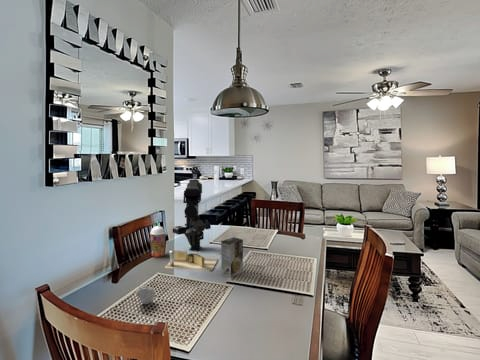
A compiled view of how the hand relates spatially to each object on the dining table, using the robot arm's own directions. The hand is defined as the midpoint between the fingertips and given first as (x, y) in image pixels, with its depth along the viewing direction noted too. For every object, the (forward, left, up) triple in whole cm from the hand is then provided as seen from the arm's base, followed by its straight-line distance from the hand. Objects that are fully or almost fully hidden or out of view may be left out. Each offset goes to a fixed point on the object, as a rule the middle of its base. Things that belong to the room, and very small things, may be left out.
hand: (192, 245), depth 142 cm
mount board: (-6, -2, -12) cm, 14 cm away
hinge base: (-9, -7, -11) cm, 16 cm away
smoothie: (-15, -24, -12) cm, 31 cm away
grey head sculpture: (+36, -8, -12) cm, 39 cm away
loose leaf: (-4, +2, -11) cm, 12 cm away
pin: (-1, -11, -11) cm, 16 cm away
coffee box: (+3, +20, -12) cm, 24 cm away
